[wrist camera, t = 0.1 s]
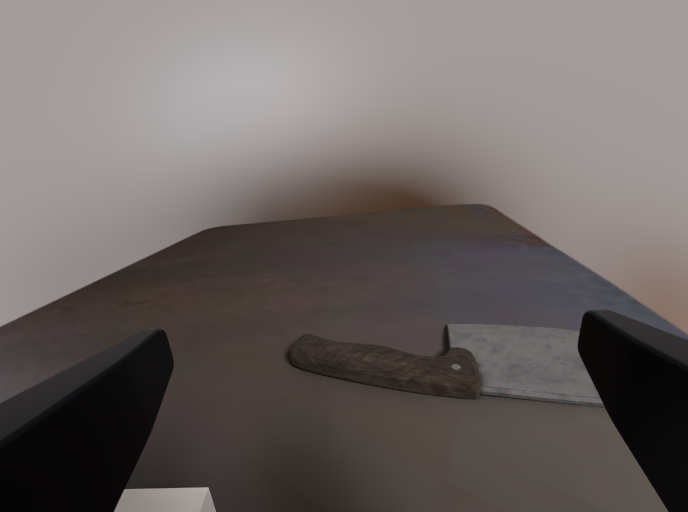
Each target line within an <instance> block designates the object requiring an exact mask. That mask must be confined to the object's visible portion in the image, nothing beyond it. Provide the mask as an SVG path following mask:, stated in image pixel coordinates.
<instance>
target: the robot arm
mask: <svg viewBox="0 0 688 512" xmlns="http://www.w3.org/2000/svg"><path fill="white" fill-rule="evenodd" d="M578 352H579V355H580V357H581V360H582V362H583V364H584V366H585V368H586V370H587V372H588V374H589V376H590V378H591V380H592V382H593V384H594V386H595V388H596V390H597V392H598V394H599V396H600V398H601V400H602V402H603V405H604V407H605V409H606V410H607V412H608V414H609V416H610V418H611V420H612V422H613V423H614V425H615V427H616V428H617V430H618V432H619V433H620V435H621V436H622V438H623V440H624V441H625V443H626V444H627V446H628V448H629V449H630V451H631V452H632V454H633V456H634V457H635V459H636V460H637V462H638V464H639V465H640V467H641V468H642V470H643V472H644V473H645V475H646V476H647V478H648V480H649V481H650V483H651V484H652V486H653V488H654V489H655V491H656V492H657V494H658V496H659V497H660V499H661V500H662V502H663V504H664V505H665V507H666V508H667V510H668V512H688V340H686V339H684V338H681V337H678V336H676V335H673V334H671V333H668V332H665V331H663V330H660V329H657V328H655V327H652V326H650V325H647V324H644V323H642V322H639V321H636V320H634V319H631V318H629V317H626V316H623V315H621V314H618V313H615V312H613V311H610V310H589V311H587V312H585V314H584V315H583V318H582V323H581V328H580V333H579V338H578ZM173 366H174V360H173V356H172V352H171V349H170V345H169V342H168V338H167V335H166V333H165V331H164V330H162V329H160V328H157V329H143V330H141V331H139V332H137V333H135V334H133V335H131V336H129V337H127V338H125V339H123V340H121V341H119V342H118V343H116V344H114V345H112V346H110V347H108V348H106V349H104V350H102V351H100V352H98V353H96V354H94V355H92V356H90V357H88V358H87V359H85V360H83V361H81V362H79V363H77V364H75V365H73V366H71V367H69V368H67V369H65V370H63V371H61V372H59V373H57V374H56V375H54V376H52V377H50V378H48V379H46V380H44V381H42V382H40V383H38V384H36V385H34V386H32V387H30V388H28V389H26V390H25V391H23V392H21V393H19V394H17V395H15V396H13V397H11V398H9V399H7V400H5V401H3V402H1V403H0V512H114V511H115V508H116V506H117V504H118V502H119V500H120V498H121V496H122V493H123V491H124V489H125V487H126V485H127V483H128V481H129V479H130V476H131V474H132V472H133V470H134V468H135V466H136V464H137V462H138V459H139V457H140V455H141V453H142V451H143V449H144V447H145V445H146V442H147V440H148V438H149V435H150V433H151V431H152V428H153V425H154V423H155V420H156V417H157V414H158V411H159V409H160V406H161V403H162V400H163V397H164V394H165V391H166V388H167V385H168V383H169V380H170V377H171V374H172V371H173Z"/></svg>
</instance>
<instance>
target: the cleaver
mask: <svg viewBox="0 0 688 512" xmlns="http://www.w3.org/2000/svg"><path fill="white" fill-rule="evenodd" d="M447 329H448V341H449V350H448V351H447V352H446V353H445V354H444V355H443V356H437V357H426V356H418V355H413V354H408V353H405V352H402V351H398V350H395V349H392V348H389V347H384V346H380V345H372V344H355V343H342V342H335V341H331V340H327V339H324V338H320V337H317V336H313V335H308V334H305V335H302V336H301V337H300V338H299V339H298V340H297V341H296V342H295V344H294V345H293V346H292V348H291V350H290V360H291V363H292V364H293V365H294V366H296V367H298V368H300V369H303V370H306V371H309V372H313V373H316V374H320V375H324V376H328V377H332V378H337V379H342V380H346V381H351V382H356V383H361V384H367V385H372V386H377V387H382V388H388V389H393V390H399V391H405V392H411V393H418V394H426V395H433V396H442V397H451V398H461V399H478V398H480V394H482V395H492V396H501V397H510V398H520V399H529V400H538V401H547V402H557V403H566V404H575V405H585V406H595V407H604V405H603V402H602V400H601V398H600V396H599V394H598V392H597V390H596V388H595V386H594V384H593V382H592V380H591V378H590V376H589V374H588V372H587V370H586V368H585V366H584V364H583V362H582V360H581V357H580V355H579V352H578V338H579V333H580V331H572V330H564V329H555V328H546V327H532V326H516V325H491V324H447Z"/></svg>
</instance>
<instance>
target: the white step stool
mask: <svg viewBox="0 0 688 512" xmlns="http://www.w3.org/2000/svg"><path fill="white" fill-rule="evenodd" d="M114 512H216V510H215V507H214V504H213V501H212V497H211V494H210V491H209V488H208V487H205V488H158V489H124V491H123V493H122V496H121V498H120V500H119V502H118V504H117V506H116V508H115V511H114Z"/></svg>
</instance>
